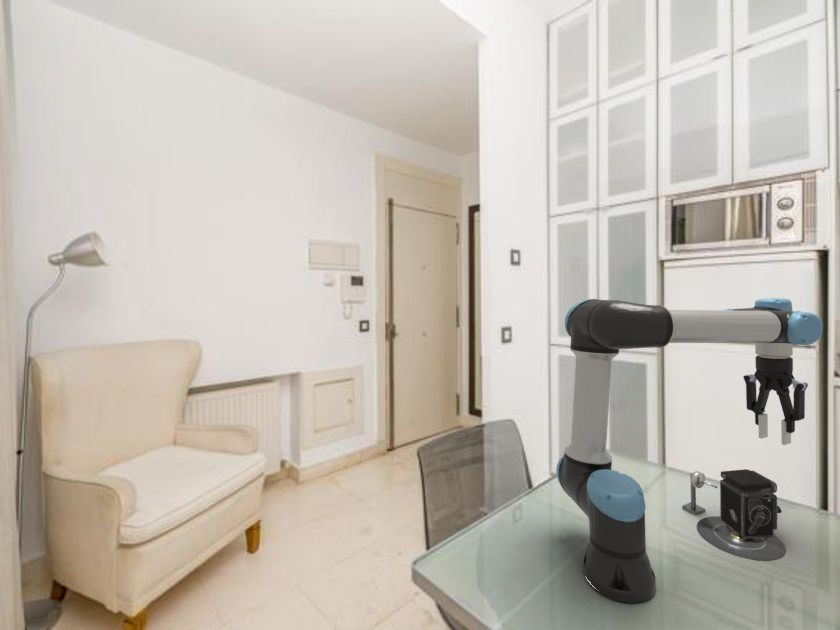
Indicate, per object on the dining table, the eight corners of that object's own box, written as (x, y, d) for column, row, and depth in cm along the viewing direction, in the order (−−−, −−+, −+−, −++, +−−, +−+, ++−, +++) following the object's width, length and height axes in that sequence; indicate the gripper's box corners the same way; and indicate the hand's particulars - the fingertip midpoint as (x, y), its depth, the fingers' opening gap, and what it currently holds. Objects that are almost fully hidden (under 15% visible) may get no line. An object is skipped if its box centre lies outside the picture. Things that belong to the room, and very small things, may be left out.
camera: (788, 542, 100) (788, 484, 99) (746, 543, 100) (745, 486, 99) (754, 518, 110) (754, 466, 109) (716, 520, 111) (715, 467, 110)
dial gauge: (712, 524, 109) (711, 481, 109) (681, 509, 117) (680, 469, 117) (722, 519, 111) (721, 477, 110) (691, 505, 119) (690, 465, 118)
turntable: (757, 569, 92) (757, 568, 92) (681, 528, 109) (681, 527, 109) (802, 546, 98) (801, 545, 98) (723, 510, 115) (723, 509, 115)
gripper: (824, 358, 100) (824, 448, 101) (745, 350, 116) (746, 428, 117) (807, 362, 97) (807, 455, 98) (728, 353, 113) (730, 432, 115)
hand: (774, 440), depth 108 cm, fingers open, 4 cm apart
